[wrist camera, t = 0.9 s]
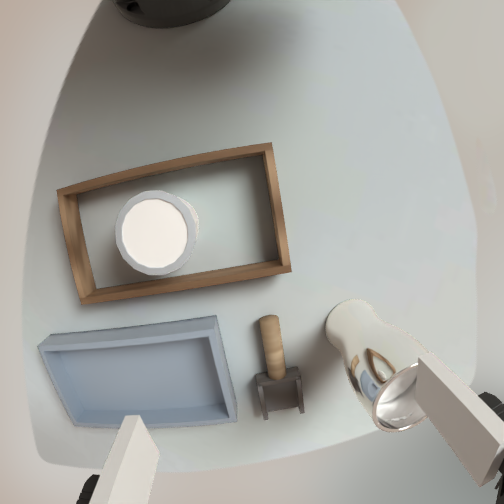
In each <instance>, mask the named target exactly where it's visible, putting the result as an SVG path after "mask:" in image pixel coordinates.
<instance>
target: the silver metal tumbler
mask: <svg viewBox="0 0 504 504" xmlns="http://www.w3.org/2000/svg"><path fill="white" fill-rule="evenodd" d="M325 330H326V335H327V338H328V340H329V341H330V343H331V344H332V345H333V346H335V347H336V348H337V349H338V350H339V351H340V352H341V355H342V358H343V362H344V367H345V371H346V374H347V377H348V380H349V383H350V385H351V387H352V389H353V392H354V394H355V395H356V397H357V399H358V400H359V402H360V403H361V405H362V406H363V408H364V409H365V410H366V412H367V413H368V414H369V416H370V417H371V418H372V420H373V421H374V423H375V425H376V426H377V427H378V428H379V429H381V430H383V431H386V432H400V431H404V430H407V429H410V428H412V427H414V426H416V425H418V424H419V423H421V422H422V421H424V420H425V419H426V418H427V415H426V414H425V413H424V411H423V410H422V409H421V407H420V406H419V405H418V404H417V402H416V401H415V393H416V381H417V367H418V356H421V355H424V354H426V353H429V351H428V350H427V349H426V348H425V347H424V346H423V345H422V344H421V343H420V342H419V341H418V340H416V339H415V338H414V337H413V336H411V335H410V334H409V333H407V332H405V331H404V330H402V329H400V328H398V327H396V326H394V325H392V324H390V323H387V322H385V321H383V320H381V319H380V318H379V317H378V316H377V314H376V312H375V310H374V309H373V307H372V306H371V305H370V304H369V303H367V302H366V301H363V300H360V299H350V300H346V301H344V302H342V303H340V304H339V305H337V306H336V307H335V308H334V309H333V310H332V311H331V313H330V314H329V316H328V318H327V321H326V326H325Z"/></svg>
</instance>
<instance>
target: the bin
mask: <svg viewBox="0 0 504 504" xmlns="http://www.w3.org/2000/svg"><path fill="white" fill-rule="evenodd" d="M37 347H38V349H39V352H40V354H41V357H42V359H43V362H44V364H45V366H46V369H47V371H48V373H49V376H50V378H51V380H52V382H53V385H54V387H55V389H56V391H57V393H58V395H59V397H60V399H61V401H62V403H63V405H64V407H65V409H66V411H67V413H68V415H69V417H70V419H71V421H72V423H73V424H74V426H78V427H95V428H120V427H121V425H122V422H123V420H124V418H125V416H128V415H140V417H141V419H142V421H143V423H144V425H145V427H146V428H170V427H188V426H201V425H212V424H222V423H231V422H237V402H236V398H235V394H234V390H233V386H232V382H231V377H230V373H229V369H228V365H227V360H226V356H225V352H224V347H223V343H222V338H221V334H220V329H219V325H218V320H217V316H216V315H214V316H208V317H201V318H194V319H187V320H180V321H172V322H165V323H157V324H149V325H140V326H132V327H123V328H114V329H104V330H94V331H84V332H73V333H61V334H51V335H50V336H48V337H47V338H46V339H45V340H44V341H42V342H41V343H40V344H39V345H38V346H37Z"/></svg>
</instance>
